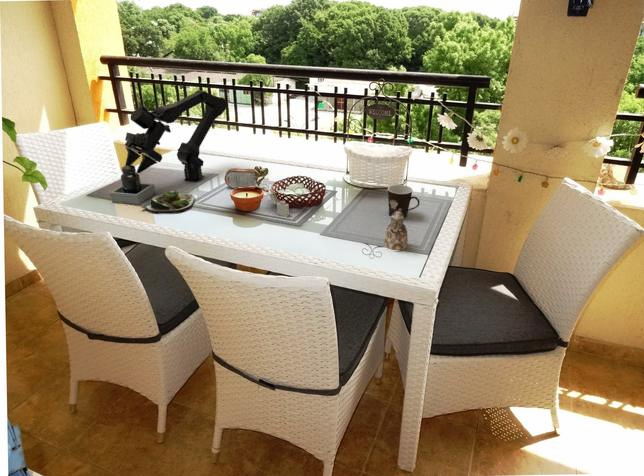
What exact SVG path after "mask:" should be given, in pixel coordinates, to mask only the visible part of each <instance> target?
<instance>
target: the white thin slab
mask: <svg viewBox="0 0 644 476" xmlns="http://www.w3.org/2000/svg"><path fill="white" fill-rule="evenodd" d="M268 196H269V198H270V199H271V202H272V205H276V215H277V216H280V215H283V216H282V217H285V216H287V217H289V216H290V210H289V209H290V208H289V207H290V206H289V203H286V201H284V200H280V201H279V199H278V197H277V195H276V192H275V191H272V192H270V193H269V194H268ZM288 215H289V216H288Z"/></svg>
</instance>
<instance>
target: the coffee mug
mask: <svg viewBox="0 0 644 476" xmlns="http://www.w3.org/2000/svg"><path fill="white" fill-rule="evenodd" d="M412 193H413V188H412V187H411V186H409V185H403V184H393V185H389V186H388V188H387V196H388V197H387V199H388V215H389V217H390V218H391V216H392V214H393V213H394V212H396V211H398V210H399V209H402V213H403V216H404V219H405V218H407V216H408V214H409V213H408V212H409V211H412V210H415V209H417V208H418V207H419V206H420V203H421V202H420V199H419V198H418V197H417V196H412V195H413V194H412ZM412 199H415V200H416V201H417V205H416V206H414V207H412V208H411V207H410V203H411V200H412Z"/></svg>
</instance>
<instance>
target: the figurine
mask: <svg viewBox="0 0 644 476" xmlns="http://www.w3.org/2000/svg"><path fill="white" fill-rule="evenodd" d="M404 219H405V218H404V216H403V213H402V209H399V210H398V211H396V212H394V213H393V214H392V216H391V217H390V224H388V226H387V228H386V231H385V232H386V233H385V237H384V243H383V244H384V246H385V245H386V247H387V248H388V249H391V250H403V251H404V249H405V248H406V249H407V247H408V242H409V241H408V238H409V237H408V229H407V227H406V224H404ZM386 247H385V248H386ZM387 248H386V249H387ZM388 249H387V250H388ZM406 249H405V250H406ZM391 250H390V251H391Z"/></svg>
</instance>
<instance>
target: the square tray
mask: <svg viewBox="0 0 644 476" xmlns="http://www.w3.org/2000/svg"><path fill="white" fill-rule="evenodd" d="M141 186H142V191H141V192H139V193H138V194H129V193H124V191H123V186H122V185H120V186H119V187H117V188H115V189H114V190H112V191H110V193H109V195H110V197H111V198H110V199H111V203H117V204H125V205H126V204H127V205H137V206H139V205H142V204H143V203H144V202H146V201H147V200H149V199H150V198H152V197H153V196H154V195H156V194H155V193H156V190H155V189H156V188H155V184H154V183H143V182H141ZM152 195H153V196H152Z"/></svg>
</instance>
